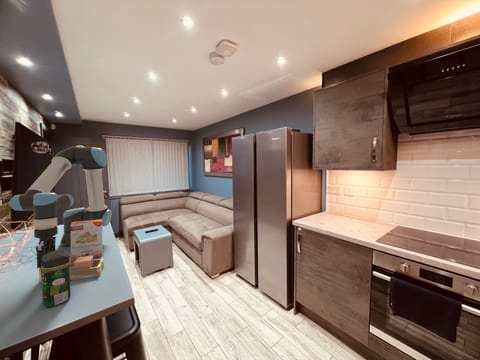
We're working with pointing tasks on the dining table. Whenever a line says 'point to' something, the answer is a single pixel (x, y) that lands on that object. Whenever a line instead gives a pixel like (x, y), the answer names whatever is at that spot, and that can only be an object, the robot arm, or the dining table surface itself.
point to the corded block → (81, 263)
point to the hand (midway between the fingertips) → (47, 277)
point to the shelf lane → (87, 270)
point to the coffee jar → (55, 278)
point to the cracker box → (86, 239)
